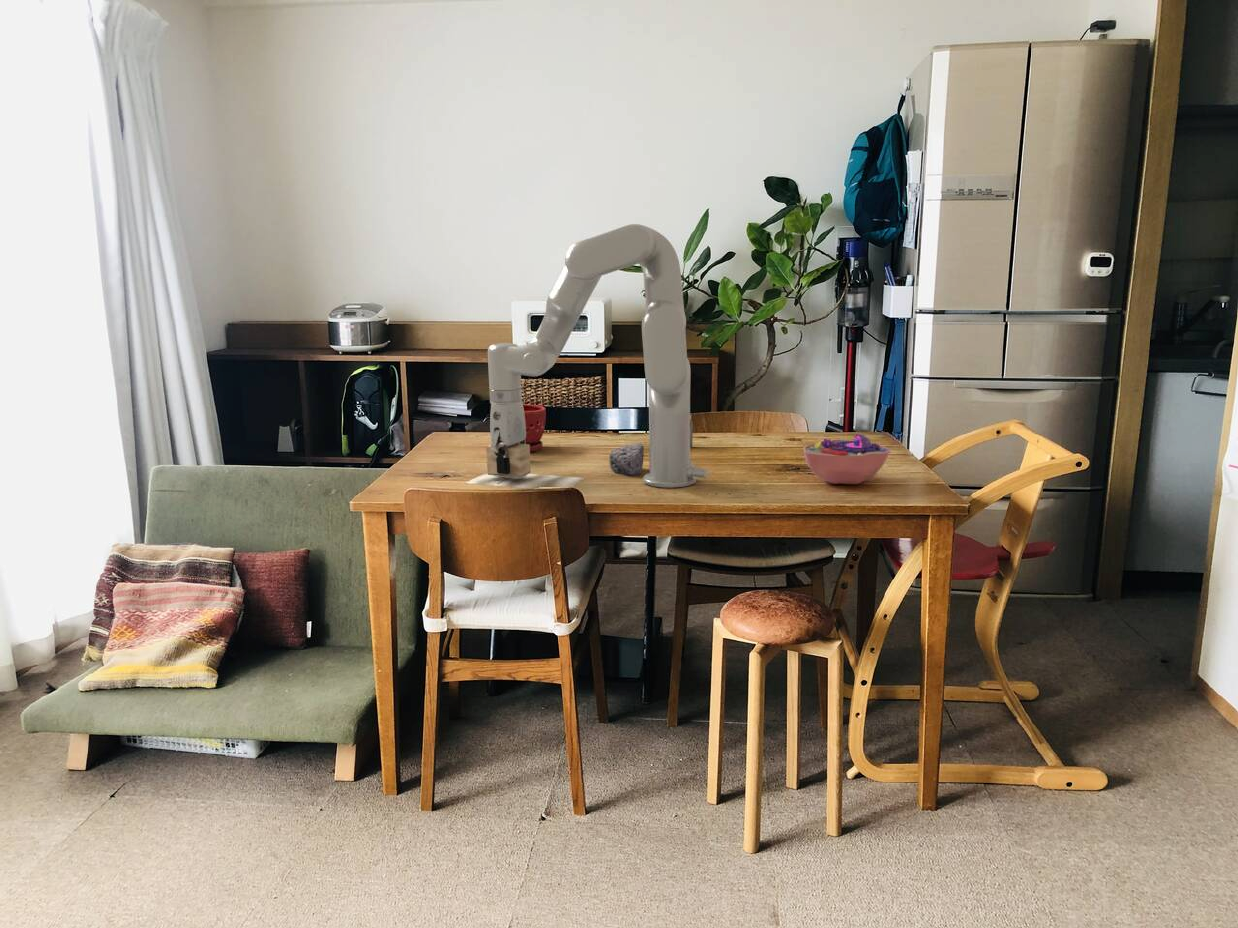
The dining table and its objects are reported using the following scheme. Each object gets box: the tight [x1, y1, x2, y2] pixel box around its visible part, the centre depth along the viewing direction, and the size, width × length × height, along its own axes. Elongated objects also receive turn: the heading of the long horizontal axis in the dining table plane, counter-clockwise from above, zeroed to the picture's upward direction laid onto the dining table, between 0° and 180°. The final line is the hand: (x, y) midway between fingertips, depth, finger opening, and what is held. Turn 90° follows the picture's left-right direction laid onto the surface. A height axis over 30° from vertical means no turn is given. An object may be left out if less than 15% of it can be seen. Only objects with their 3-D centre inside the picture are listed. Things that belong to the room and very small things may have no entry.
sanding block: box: [486, 443, 532, 477], centre depth 227 cm, size 9×5×7 cm, turn 69°
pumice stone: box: [609, 443, 645, 477], centre depth 233 cm, size 10×8×10 cm
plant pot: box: [523, 403, 547, 453], centre depth 260 cm, size 13×13×12 cm
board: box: [464, 471, 587, 489], centre depth 226 cm, size 26×13×1 cm, turn 69°
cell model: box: [803, 433, 892, 485], centre depth 219 cm, size 17×20×11 cm
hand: (509, 470), depth 227 cm, fingers closed on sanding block, 5 cm apart
